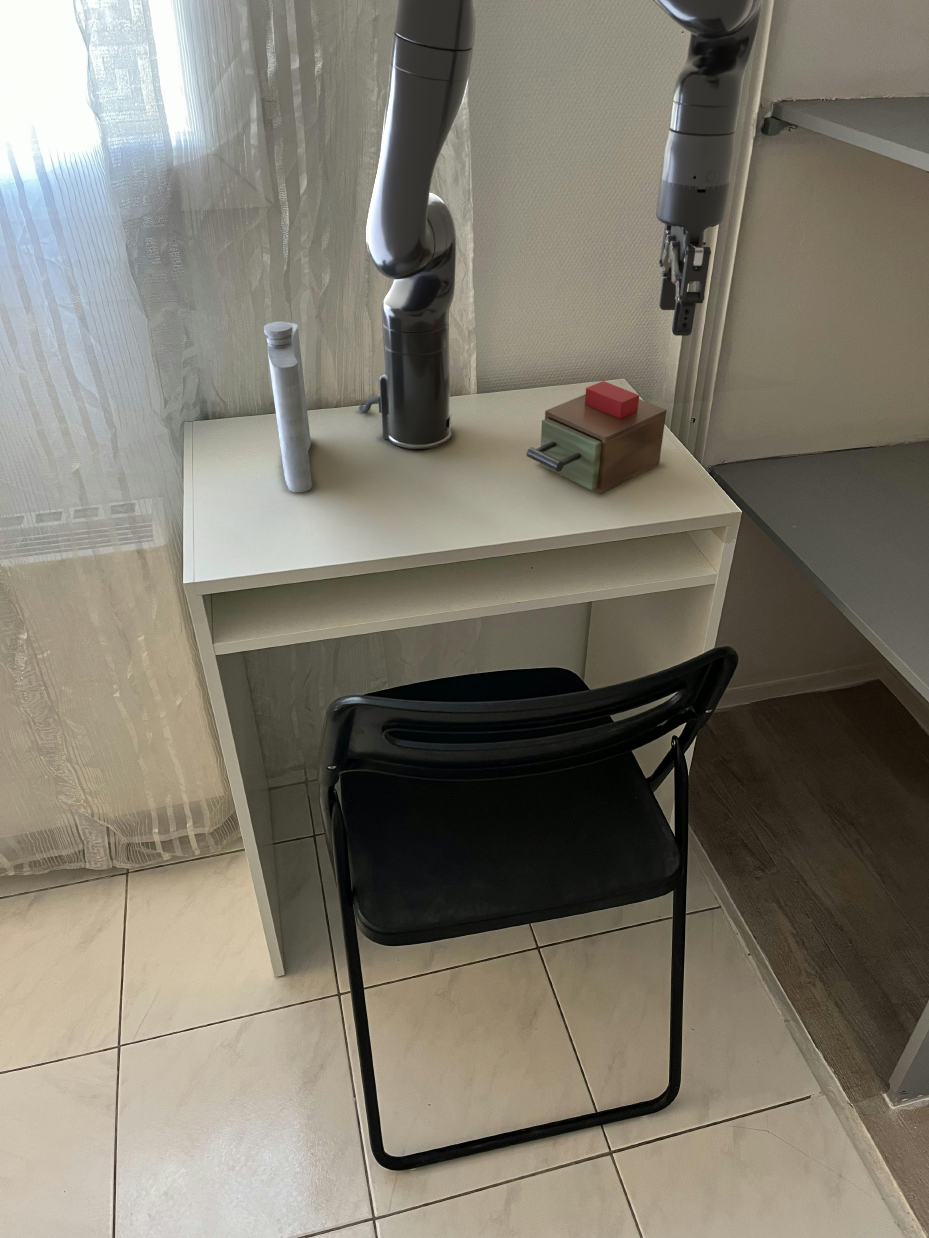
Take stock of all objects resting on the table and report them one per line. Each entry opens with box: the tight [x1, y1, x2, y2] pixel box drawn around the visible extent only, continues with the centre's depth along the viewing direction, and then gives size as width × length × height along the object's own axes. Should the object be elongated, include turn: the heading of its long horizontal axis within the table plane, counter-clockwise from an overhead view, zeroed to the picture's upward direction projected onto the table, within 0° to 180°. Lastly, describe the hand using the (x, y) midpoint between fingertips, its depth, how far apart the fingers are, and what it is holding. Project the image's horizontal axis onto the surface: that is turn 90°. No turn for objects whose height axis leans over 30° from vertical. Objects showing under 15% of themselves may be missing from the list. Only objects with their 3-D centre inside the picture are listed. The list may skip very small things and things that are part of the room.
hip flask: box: [263, 321, 313, 493], centre depth 126 cm, size 16×4×20 cm, turn 8°
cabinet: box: [544, 394, 667, 495], centre depth 129 cm, size 12×11×8 cm
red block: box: [584, 380, 640, 419], centre depth 126 cm, size 6×4×2 cm, turn 42°
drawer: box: [526, 418, 602, 491], centre depth 127 cm, size 16×10×7 cm, turn 132°
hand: (674, 321), depth 112 cm, fingers open, 8 cm apart
